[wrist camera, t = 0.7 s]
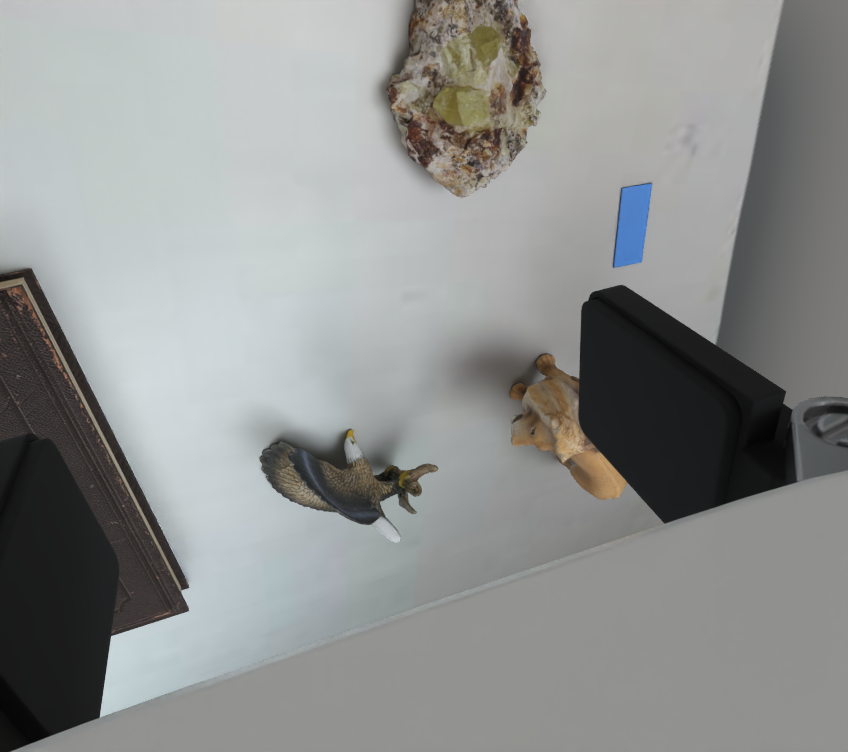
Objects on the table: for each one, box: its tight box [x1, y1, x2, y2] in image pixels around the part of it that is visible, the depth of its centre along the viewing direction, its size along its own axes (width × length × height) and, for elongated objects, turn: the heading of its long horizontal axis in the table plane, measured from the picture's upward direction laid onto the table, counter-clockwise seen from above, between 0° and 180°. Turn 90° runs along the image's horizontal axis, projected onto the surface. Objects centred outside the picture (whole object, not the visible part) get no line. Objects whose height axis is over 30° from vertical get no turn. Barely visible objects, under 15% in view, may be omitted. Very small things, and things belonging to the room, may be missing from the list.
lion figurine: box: [510, 354, 627, 500], centre depth 40 cm, size 15×5×9 cm, turn 42°
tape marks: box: [613, 183, 652, 268], centre depth 33 cm, size 24×2×1 cm, turn 4°
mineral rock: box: [386, 0, 546, 197], centre depth 29 cm, size 11×4×8 cm
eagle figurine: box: [260, 430, 438, 542], centre depth 38 cm, size 8×7×9 cm
